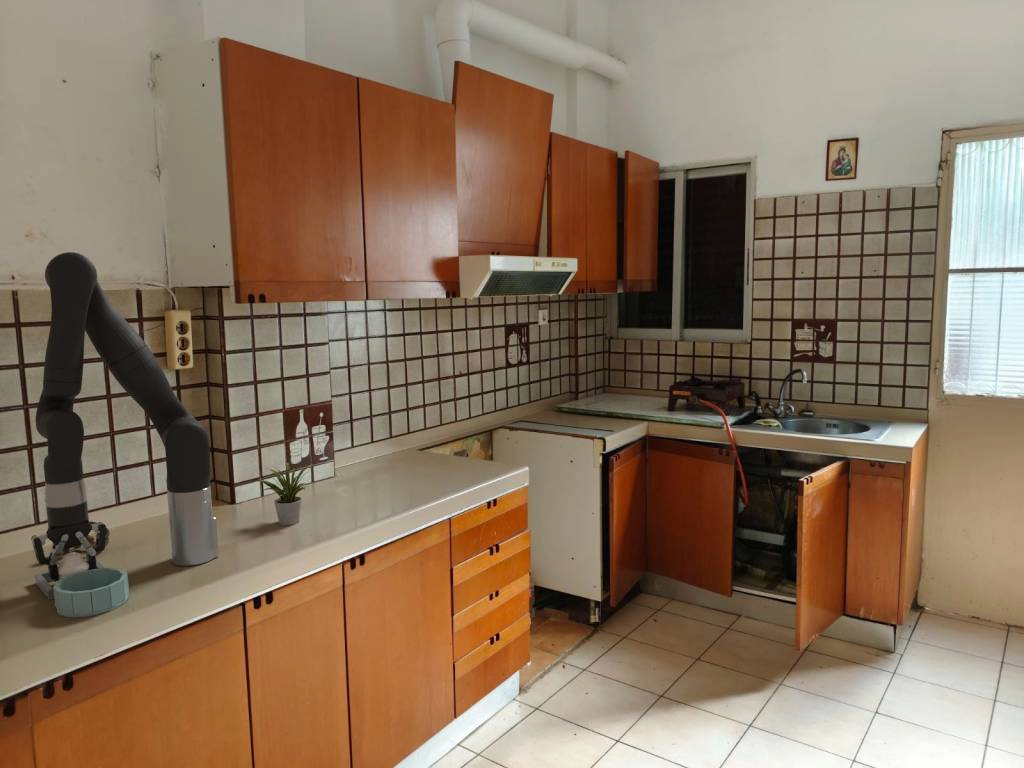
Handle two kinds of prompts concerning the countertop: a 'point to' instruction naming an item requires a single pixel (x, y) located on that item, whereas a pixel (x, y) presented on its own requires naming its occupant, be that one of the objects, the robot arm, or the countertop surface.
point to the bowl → (91, 592)
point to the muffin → (72, 565)
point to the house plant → (287, 496)
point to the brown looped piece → (90, 541)
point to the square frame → (44, 578)
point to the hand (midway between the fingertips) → (73, 575)
